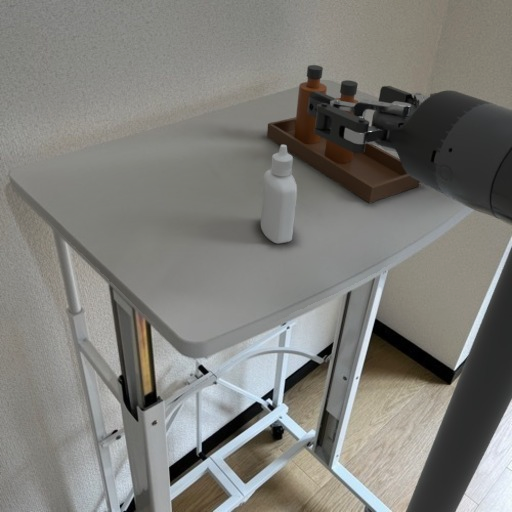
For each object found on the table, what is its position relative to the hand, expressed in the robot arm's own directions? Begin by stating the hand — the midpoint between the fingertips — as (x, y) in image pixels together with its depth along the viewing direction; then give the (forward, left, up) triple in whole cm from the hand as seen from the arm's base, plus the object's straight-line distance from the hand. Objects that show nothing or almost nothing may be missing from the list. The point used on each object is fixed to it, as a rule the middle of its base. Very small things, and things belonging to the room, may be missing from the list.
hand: (348, 98), depth 54 cm
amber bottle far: (-20, -28, -20) cm, 40 cm away
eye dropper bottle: (+1, -8, -20) cm, 22 cm away
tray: (-20, -20, -20) cm, 35 cm away
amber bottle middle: (-20, -20, -20) cm, 34 cm away
